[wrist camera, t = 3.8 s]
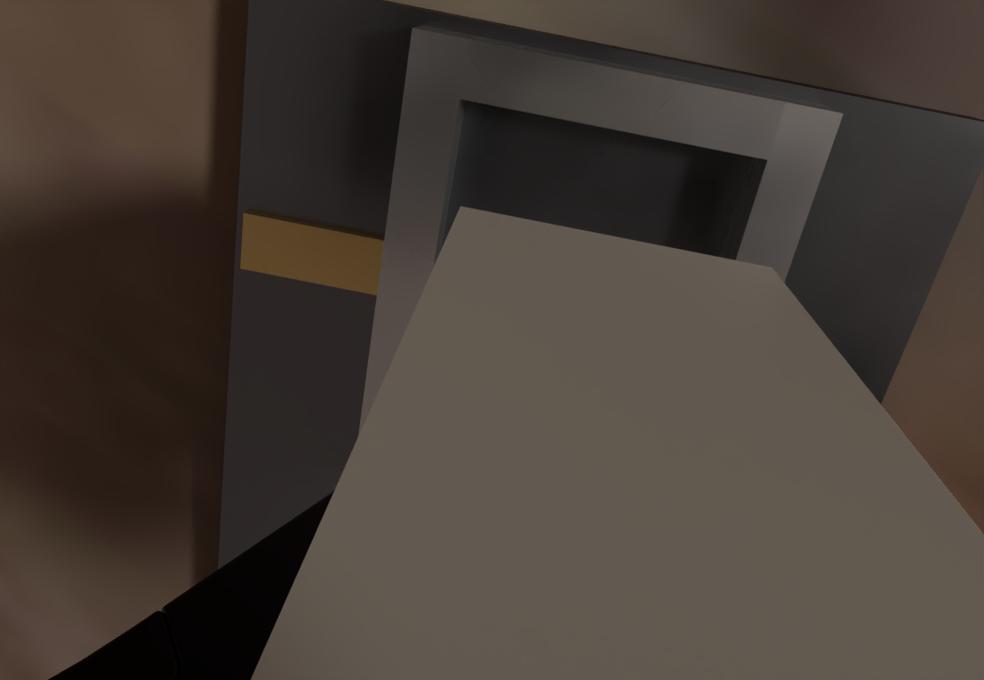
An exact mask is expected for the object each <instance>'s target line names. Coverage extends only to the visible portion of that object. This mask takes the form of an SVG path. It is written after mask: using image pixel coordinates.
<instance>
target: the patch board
mask: <svg viewBox="0 0 984 680" xmlns="http://www.w3.org/2000/svg"><path fill="white" fill-rule="evenodd" d="M983 165H984V120H981V119H977V118H974V117H969V116H964V115H959V114H954V113H949V112H944V111H939V110H934V109H928V108H923V107H918V106H913V105H908V104H903V103H898V102H893V101H888V100H883V99H878V98H873V97H868V96H863V95H858V94H853V93H848V92H843V91H838V90H833V89H828V88H823V87H818V86H813V85H808V84H803V83H798V82H793V81H788V80H782V79H777V78H772V77H767V76H762V75H757V74H752V73H747V72H742V71H737V70H732V69H727V68H722V67H717V66H712V65H707V64H702V63H697V62H692V61H687V60H682V59H677V58H672V57H667V56H662V55H657V54H652V53H647V52H642V51H637V50H631V49H626V48H621V47H616V46H611V45H606V44H601V43H596V42H591V41H586V40H581V39H576V38H571V37H566V36H561V35H556V34H551V33H546V32H541V31H536V30H531V29H526V28H521V27H516V26H511V25H506V24H501V23H496V22H491V21H485V20H480V19H475V18H470V17H465V16H460V15H455V14H450V13H445V12H440V11H435V10H430V9H425V8H420V7H415V6H410V5H405V4H400V3H395V2H390V1H385V0H249V4H248V22H247V40H246V59H245V77H244V96H243V114H242V132H241V151H240V169H239V188H238V206H237V224H236V243H235V261H234V280H233V298H232V316H231V335H230V353H229V372H228V390H227V408H226V427H225V445H224V464H223V482H222V500H221V519H220V537H219V555H218V569H220V568H221V567H223V566H224V565H226V564H227V563H228V562H230V561H231V560H233V559H234V558H236V557H237V556H239V555H240V554H242V553H243V552H245V551H246V550H248V549H249V548H251V547H252V546H253V545H255V544H256V543H258V542H259V541H261V540H262V539H264V538H265V537H267V536H268V535H270V534H271V533H273V532H274V531H276V530H277V529H278V528H280V527H281V526H283V525H284V524H286V523H287V522H289V521H290V520H292V519H293V518H295V517H296V516H298V515H299V514H301V513H302V512H303V511H305V510H306V509H308V508H309V507H311V506H312V505H314V504H315V503H317V502H318V501H320V500H321V499H323V498H324V497H326V496H327V495H328V494H330V493H331V492H333V491H334V490H335V488H336V486H337V484H338V482H339V479H340V477H341V475H342V473H343V470H344V468H345V466H346V464H347V461H348V459H349V457H350V455H351V452H352V450H353V448H354V446H355V443H356V441H357V439H358V436H359V434H360V432H361V430H362V427H363V425H364V423H365V421H366V418H367V416H368V414H369V412H370V409H371V407H372V405H373V403H374V400H375V398H376V396H377V394H378V391H379V389H380V387H381V385H382V382H383V380H384V378H385V376H386V373H387V371H388V369H389V367H390V364H391V362H392V360H393V358H394V355H395V353H396V351H397V348H398V346H399V344H400V342H401V339H402V337H403V335H404V333H405V330H406V328H407V326H408V324H409V321H410V319H411V317H412V315H413V312H414V310H415V308H416V306H417V303H418V301H419V299H420V297H421V294H422V292H423V290H424V288H425V285H426V283H427V281H428V279H429V276H430V274H431V272H432V269H433V267H434V265H435V263H436V260H437V258H438V256H439V254H440V251H441V249H442V247H443V245H444V242H445V240H446V238H447V236H448V233H449V231H450V229H451V227H452V224H453V222H454V220H455V218H456V215H457V213H458V211H459V209H460V206H462V207H467V208H473V209H478V210H483V211H488V212H493V213H498V214H503V215H508V216H513V217H518V218H523V219H528V220H533V221H539V222H544V223H549V224H554V225H559V226H564V227H569V228H574V229H579V230H584V231H589V232H594V233H599V234H604V235H610V236H615V237H620V238H625V239H630V240H635V241H640V242H645V243H650V244H655V245H660V246H665V247H670V248H676V249H681V250H686V251H691V252H696V253H701V254H706V255H711V256H716V257H721V258H726V259H731V260H736V261H741V262H747V263H752V264H757V265H762V266H767V267H772V268H773V269H774V271H775V272H776V273H777V274H778V276H779V277H780V278H781V279H782V281H783V282H784V283H785V284H786V286H787V287H788V288H789V290H790V291H791V292H792V293H793V295H794V296H795V297H796V298H797V300H798V301H799V302H800V303H801V305H802V306H803V307H804V308H805V310H806V311H807V312H808V313H809V315H810V316H811V317H812V319H813V320H814V321H815V322H816V324H817V325H818V326H819V327H820V329H821V330H822V331H823V332H824V334H825V335H826V336H827V337H828V339H829V340H830V341H831V342H832V344H833V345H834V346H835V347H836V349H837V350H838V351H839V353H840V354H841V355H842V356H843V358H844V359H845V360H846V361H847V363H848V364H849V365H850V366H851V368H852V369H853V370H854V371H855V373H856V374H857V375H858V376H859V378H860V379H861V380H862V382H863V383H864V384H865V385H866V387H867V388H868V389H869V390H870V392H871V393H872V394H873V395H874V397H875V398H876V399H877V400H878V402H879V403H880V404H881V402H882V400H883V398H884V395H885V393H886V391H887V388H888V386H889V384H890V381H891V379H892V377H893V374H894V372H895V370H896V367H897V365H898V363H899V360H900V358H901V356H902V353H903V351H904V349H905V346H906V344H907V342H908V339H909V337H910V335H911V332H912V330H913V328H914V325H915V323H916V321H917V318H918V316H919V314H920V311H921V309H922V307H923V304H924V302H925V300H926V297H927V295H928V293H929V290H930V288H931V286H932V283H933V281H934V279H935V276H936V274H937V272H938V269H939V267H940V265H941V262H942V260H943V258H944V255H945V253H946V251H947V248H948V246H949V244H950V242H951V239H952V237H953V235H954V232H955V230H956V228H957V225H958V223H959V221H960V218H961V216H962V214H963V211H964V209H965V207H966V204H967V202H968V200H969V197H970V195H971V193H972V190H973V188H974V186H975V183H976V181H977V179H978V176H979V174H980V172H981V169H982V167H983Z"/></svg>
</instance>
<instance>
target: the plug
mask: <svg viewBox="0 0 984 680" xmlns="http://www.w3.org/2000/svg"><path fill="white" fill-rule="evenodd" d="M251 680H984V534H983V533H982V531H981V530H980V529H979V528H978V526H977V525H976V524H975V523H974V521H973V520H972V519H971V518H970V516H969V515H968V514H967V513H966V511H965V510H964V509H963V508H962V506H961V505H960V504H959V502H958V501H957V500H956V499H955V497H954V496H953V495H952V494H951V492H950V491H949V490H948V489H947V487H946V486H945V485H944V484H943V482H942V481H941V480H940V479H939V477H938V476H937V475H936V474H935V472H934V471H933V470H932V468H931V467H930V466H929V465H928V463H927V462H926V461H925V460H924V458H923V457H922V456H921V455H920V453H919V452H918V451H917V450H916V448H915V447H914V446H913V445H912V443H911V442H910V441H909V439H908V438H907V437H906V436H905V434H904V433H903V432H902V431H901V429H900V428H899V427H898V426H897V424H896V423H895V422H894V421H893V419H892V418H891V417H890V416H889V414H888V413H887V412H886V410H885V409H884V408H883V407H882V405H881V404H880V403H879V402H878V400H877V399H876V398H875V397H874V395H873V394H872V393H871V392H870V390H869V389H868V388H867V387H866V385H865V384H864V383H863V382H862V380H861V379H860V378H859V376H858V375H857V374H856V373H855V371H854V370H853V369H852V368H851V366H850V365H849V364H848V363H847V361H846V360H845V359H844V358H843V356H842V355H841V354H840V353H839V351H838V350H837V349H836V347H835V346H834V345H833V344H832V342H831V341H830V340H829V339H828V337H827V336H826V335H825V334H824V332H823V331H822V330H821V329H820V327H819V326H818V325H817V324H816V322H815V321H814V320H813V319H812V317H811V316H810V315H809V313H808V312H807V311H806V310H805V308H804V307H803V306H802V305H801V303H800V302H799V301H798V300H797V298H796V297H795V296H794V295H793V293H792V292H791V291H790V290H789V288H788V287H787V286H786V284H785V283H784V282H783V281H782V279H781V278H780V277H779V276H778V274H777V273H776V272H775V271H774V269H773V268H772V267H767V266H762V265H757V264H752V263H747V262H741V261H736V260H731V259H726V258H721V257H716V256H711V255H706V254H701V253H696V252H691V251H686V250H681V249H676V248H670V247H665V246H660V245H655V244H650V243H645V242H640V241H635V240H630V239H625V238H620V237H615V236H610V235H604V234H599V233H594V232H589V231H584V230H579V229H574V228H569V227H564V226H559V225H554V224H549V223H544V222H539V221H533V220H528V219H523V218H518V217H513V216H508V215H503V214H498V213H493V212H488V211H483V210H478V209H473V208H467V207H462V206H460V209H459V211H458V213H457V215H456V218H455V220H454V222H453V224H452V227H451V229H450V231H449V233H448V236H447V238H446V240H445V242H444V245H443V247H442V249H441V251H440V254H439V256H438V258H437V260H436V263H435V265H434V267H433V269H432V272H431V274H430V276H429V279H428V281H427V283H426V285H425V288H424V290H423V292H422V294H421V297H420V299H419V301H418V303H417V306H416V308H415V310H414V312H413V315H412V317H411V319H410V321H409V324H408V326H407V328H406V330H405V333H404V335H403V337H402V339H401V342H400V344H399V346H398V348H397V351H396V353H395V355H394V358H393V360H392V362H391V364H390V367H389V369H388V371H387V373H386V376H385V378H384V380H383V382H382V385H381V387H380V389H379V391H378V394H377V396H376V398H375V400H374V403H373V405H372V407H371V409H370V412H369V414H368V416H367V418H366V421H365V423H364V425H363V427H362V430H361V432H360V434H359V436H358V439H357V441H356V443H355V446H354V448H353V450H352V452H351V455H350V457H349V459H348V461H347V464H346V466H345V468H344V470H343V473H342V475H341V477H340V479H339V482H338V484H337V486H336V488H335V491H334V493H333V495H332V497H331V500H330V502H329V504H328V506H327V509H326V511H325V513H324V515H323V518H322V520H321V522H320V525H319V527H318V529H317V531H316V534H315V536H314V538H313V540H312V543H311V545H310V547H309V549H308V552H307V554H306V556H305V558H304V561H303V563H302V565H301V567H300V570H299V572H298V574H297V576H296V579H295V581H294V583H293V585H292V588H291V590H290V592H289V594H288V597H287V599H286V601H285V604H284V606H283V608H282V610H281V613H280V615H279V617H278V619H277V622H276V624H275V626H274V628H273V631H272V633H271V635H270V637H269V640H268V642H267V644H266V646H265V649H264V651H263V653H262V655H261V658H260V660H259V662H258V664H257V667H256V669H255V671H254V673H253V676H252V678H251Z"/></svg>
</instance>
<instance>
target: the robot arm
mask: <svg viewBox="0 0 984 680" xmlns="http://www.w3.org/2000/svg"><path fill="white" fill-rule="evenodd" d="M334 491H335V490H334ZM334 491H333V492H331V493H330V494H328V495H327V496H326V497H324V498H323V499H321V500H320V501H318V502H317V503H315V504H314V505H312V506H311V507H309V508H308V509H306V510H305V511H303V512H302V513H301V514H299V515H298V516H296V517H295V518H293V519H292V520H290V521H289V522H287V523H286V524H284V525H283V526H281V527H280V528H278V529H277V530H276V531H274V532H273V533H271V534H270V535H268V536H267V537H265V538H264V539H262V540H261V541H259V542H258V543H256V544H255V545H253V546H252V547H251V548H249V549H248V550H246V551H245V552H243V553H242V554H240V555H239V556H237V557H236V558H234V559H233V560H231V561H230V562H228V563H227V564H226V565H224V566H223V567H221V568H220V569H218V570H217V571H215V572H214V573H212V574H211V575H209V576H208V577H206V578H205V579H203V580H202V581H201V582H199V583H198V584H196V585H195V586H193V587H192V588H190V589H189V590H187V591H186V592H184V593H183V594H181V595H180V596H179V597H177V598H176V599H174V600H173V601H171V602H170V603H168V604H167V605H165V606H164V607H163V609H162V612H161V611H156V612H154V613H153V614H152V615H150V616H149V617H147V618H146V619H144V620H143V621H141V622H140V623H138V624H137V625H135V626H134V627H132V628H131V629H129V630H128V631H126V632H125V633H123V634H122V635H120V636H119V637H117V638H115V639H114V640H112V641H111V642H109V643H108V644H106V645H105V646H103V647H101V648H100V649H98V650H97V651H95V652H94V653H92V654H91V655H89V656H87V657H86V658H84V659H83V660H81V661H79V662H78V663H76V664H74V665H73V666H71V667H69V668H67V669H66V670H64V671H62V672H60V673H59V674H57V675H55V676H54V677H52V678H50V679H48V680H251V678H252V676H253V673H254V671H255V669H256V667H257V664H258V662H259V660H260V658H261V655H262V653H263V651H264V649H265V646H266V644H267V642H268V640H269V637H270V635H271V633H272V631H273V628H274V626H275V624H276V622H277V619H278V617H279V615H280V613H281V610H282V608H283V606H284V604H285V601H286V599H287V597H288V594H289V592H290V590H291V588H292V585H293V583H294V581H295V579H296V576H297V574H298V572H299V570H300V567H301V565H302V563H303V561H304V558H305V556H306V554H307V552H308V549H309V547H310V545H311V543H312V540H313V538H314V536H315V534H316V531H317V529H318V527H319V525H320V522H321V520H322V518H323V515H324V513H325V511H326V509H327V506H328V504H329V502H330V500H331V497H332V495H333V493H334Z"/></svg>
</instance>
